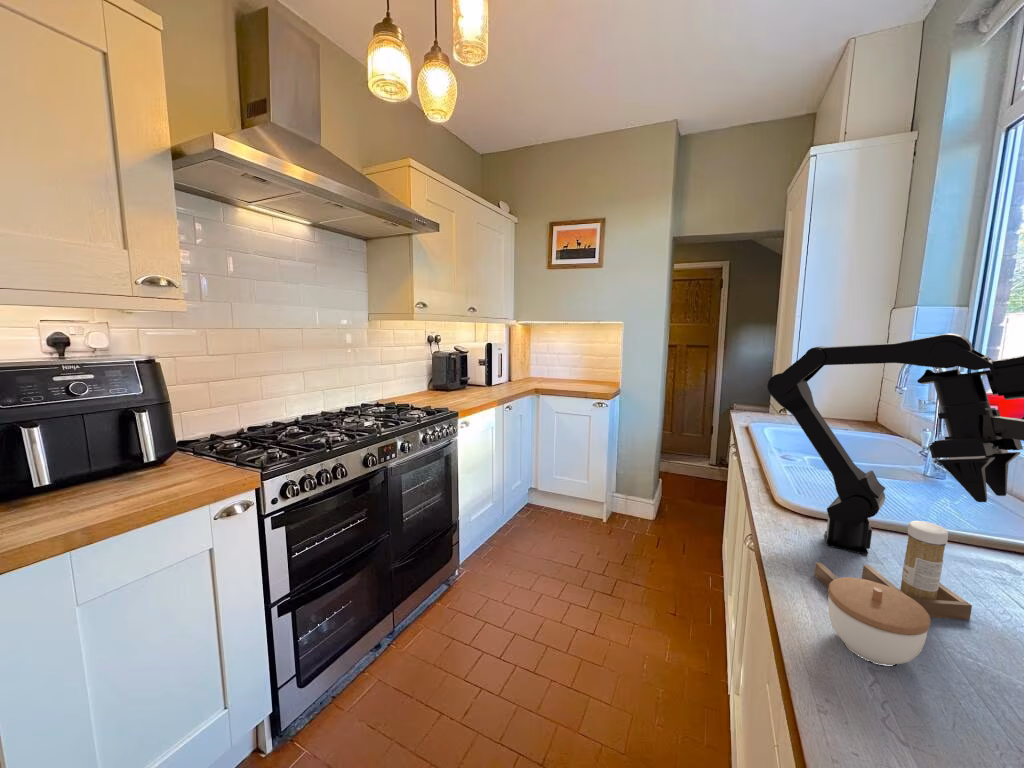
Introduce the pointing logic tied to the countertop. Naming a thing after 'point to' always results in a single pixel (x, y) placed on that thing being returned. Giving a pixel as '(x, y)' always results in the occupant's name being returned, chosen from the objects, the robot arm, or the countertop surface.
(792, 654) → the countertop surface
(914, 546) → the sprinkles bottle
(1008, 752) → the countertop surface
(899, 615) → the lidded jar
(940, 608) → the walnut lanes
